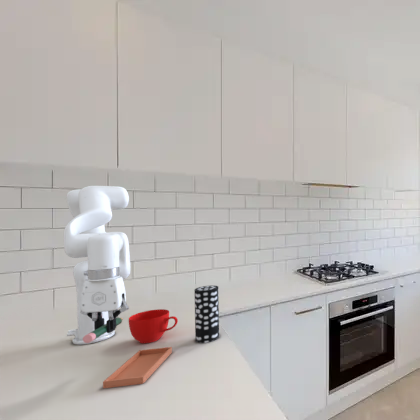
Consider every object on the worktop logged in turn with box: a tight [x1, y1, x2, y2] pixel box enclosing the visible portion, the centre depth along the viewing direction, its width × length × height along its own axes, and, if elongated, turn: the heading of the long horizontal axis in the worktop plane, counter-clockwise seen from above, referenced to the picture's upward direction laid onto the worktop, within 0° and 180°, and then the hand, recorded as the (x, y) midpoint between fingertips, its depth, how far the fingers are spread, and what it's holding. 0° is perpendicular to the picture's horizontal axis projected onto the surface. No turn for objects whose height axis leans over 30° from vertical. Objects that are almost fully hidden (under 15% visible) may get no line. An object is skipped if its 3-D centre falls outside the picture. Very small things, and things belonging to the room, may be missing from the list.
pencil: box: [83, 316, 124, 344], centre depth 98 cm, size 16×2×2 cm, turn 12°
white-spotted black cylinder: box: [194, 285, 220, 344], centre depth 122 cm, size 8×8×20 cm
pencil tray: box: [102, 346, 173, 389], centre depth 100 cm, size 10×20×2 cm, turn 13°
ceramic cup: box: [128, 308, 179, 344], centre depth 122 cm, size 13×17×10 cm
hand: (105, 331), depth 98 cm, fingers closed on pencil, 2 cm apart
